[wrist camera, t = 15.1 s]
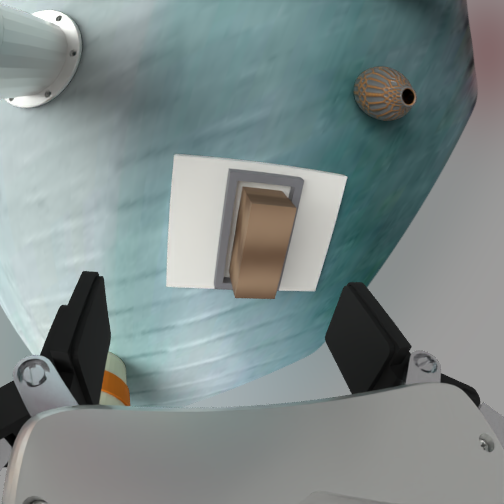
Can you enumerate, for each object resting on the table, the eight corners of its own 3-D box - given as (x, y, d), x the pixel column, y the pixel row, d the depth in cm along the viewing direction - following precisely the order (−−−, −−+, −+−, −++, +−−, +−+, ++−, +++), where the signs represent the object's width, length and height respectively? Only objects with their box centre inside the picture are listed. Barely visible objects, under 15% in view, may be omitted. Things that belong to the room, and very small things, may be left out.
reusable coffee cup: (66, 335, 45) (44, 407, 32) (137, 348, 48) (131, 424, 36) (73, 380, 50) (60, 445, 37) (134, 391, 54) (131, 458, 41)
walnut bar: (242, 186, 38) (251, 203, 33) (281, 190, 39) (296, 208, 34) (228, 271, 43) (234, 297, 38) (264, 273, 44) (274, 298, 39)
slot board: (166, 282, 43) (166, 293, 41) (174, 153, 35) (173, 157, 33) (312, 287, 49) (318, 296, 47) (343, 174, 41) (352, 180, 38)
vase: (392, 114, 37) (433, 124, 30) (349, 119, 37) (386, 129, 29) (386, 66, 34) (428, 67, 26) (342, 68, 33) (379, 66, 26)
